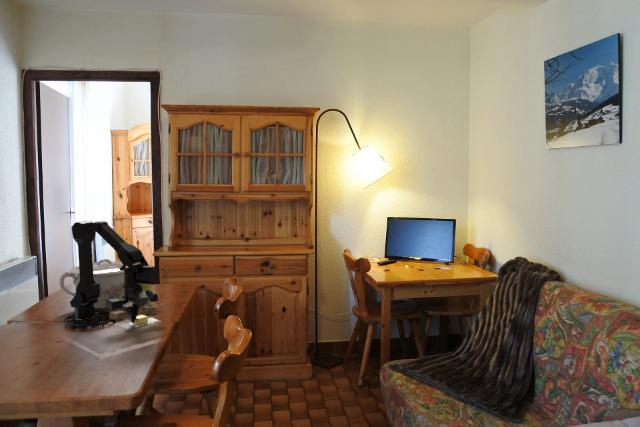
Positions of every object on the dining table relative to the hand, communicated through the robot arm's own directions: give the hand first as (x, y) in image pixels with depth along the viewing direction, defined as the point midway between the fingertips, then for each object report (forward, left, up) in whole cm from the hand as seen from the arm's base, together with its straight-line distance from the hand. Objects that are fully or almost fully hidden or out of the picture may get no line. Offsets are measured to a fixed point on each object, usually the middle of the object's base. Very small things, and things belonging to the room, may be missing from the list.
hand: (133, 322), depth 189 cm
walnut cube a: (0, +12, -2) cm, 12 cm away
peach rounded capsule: (+9, +14, -2) cm, 17 cm away
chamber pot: (+8, +39, -2) cm, 40 cm away
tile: (+3, 0, -1) cm, 3 cm away
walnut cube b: (+13, +10, -2) cm, 17 cm away
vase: (+18, +21, -2) cm, 28 cm away
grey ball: (+5, +10, -2) cm, 11 cm away
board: (+3, 0, -2) cm, 4 cm away
